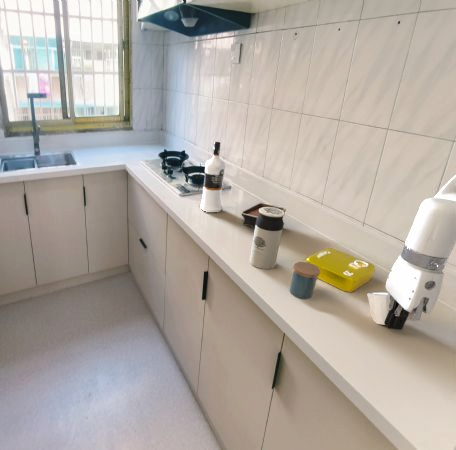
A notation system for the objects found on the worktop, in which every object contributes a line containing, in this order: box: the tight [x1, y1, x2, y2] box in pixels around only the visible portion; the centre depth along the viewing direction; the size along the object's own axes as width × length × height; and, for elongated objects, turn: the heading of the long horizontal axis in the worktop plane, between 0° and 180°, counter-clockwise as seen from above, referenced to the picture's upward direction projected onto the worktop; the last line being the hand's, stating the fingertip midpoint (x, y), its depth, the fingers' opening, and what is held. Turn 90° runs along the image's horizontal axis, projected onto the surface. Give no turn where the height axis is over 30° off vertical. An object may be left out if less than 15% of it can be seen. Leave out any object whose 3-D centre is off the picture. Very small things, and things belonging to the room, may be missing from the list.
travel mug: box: [249, 207, 286, 270], centre depth 105 cm, size 8×8×18 cm
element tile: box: [305, 247, 376, 293], centre depth 103 cm, size 15×15×5 cm
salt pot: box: [289, 261, 320, 300], centre depth 92 cm, size 7×7×8 cm
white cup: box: [366, 291, 391, 326], centre depth 82 cm, size 7×7×7 cm
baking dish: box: [240, 202, 287, 229], centre depth 134 cm, size 14×18×10 cm
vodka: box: [199, 141, 226, 213], centre depth 145 cm, size 9×9×30 cm
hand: (392, 326), depth 78 cm, fingers closed
